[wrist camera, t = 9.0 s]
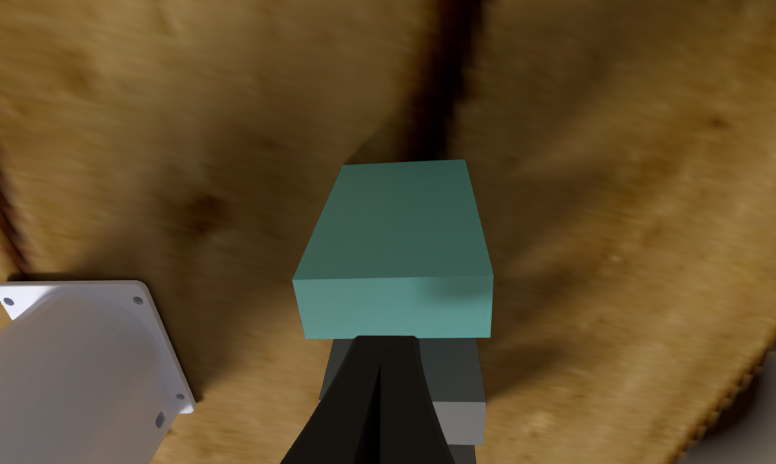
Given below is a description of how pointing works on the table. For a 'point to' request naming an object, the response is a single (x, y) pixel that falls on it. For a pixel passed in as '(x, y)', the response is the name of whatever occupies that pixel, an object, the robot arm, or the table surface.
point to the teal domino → (397, 256)
